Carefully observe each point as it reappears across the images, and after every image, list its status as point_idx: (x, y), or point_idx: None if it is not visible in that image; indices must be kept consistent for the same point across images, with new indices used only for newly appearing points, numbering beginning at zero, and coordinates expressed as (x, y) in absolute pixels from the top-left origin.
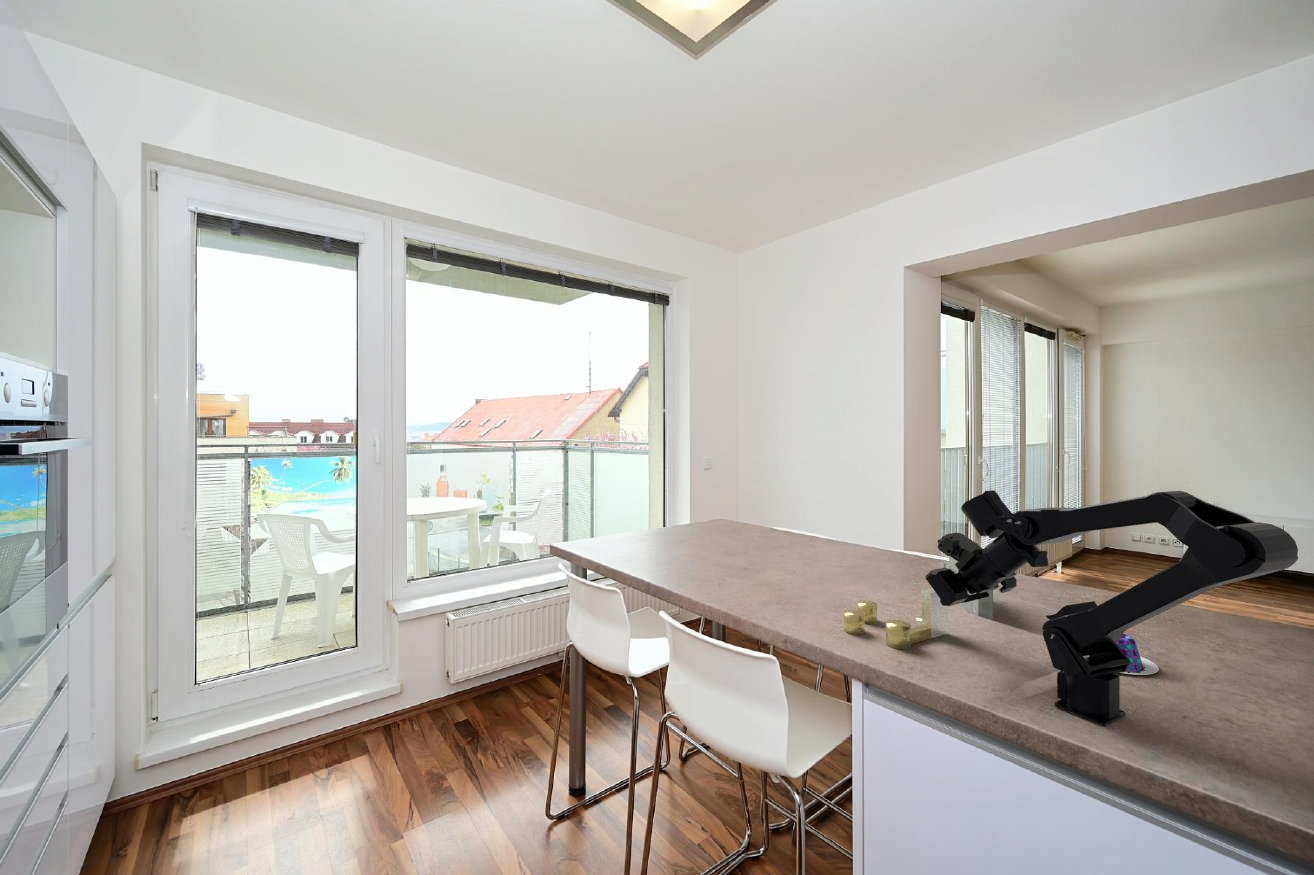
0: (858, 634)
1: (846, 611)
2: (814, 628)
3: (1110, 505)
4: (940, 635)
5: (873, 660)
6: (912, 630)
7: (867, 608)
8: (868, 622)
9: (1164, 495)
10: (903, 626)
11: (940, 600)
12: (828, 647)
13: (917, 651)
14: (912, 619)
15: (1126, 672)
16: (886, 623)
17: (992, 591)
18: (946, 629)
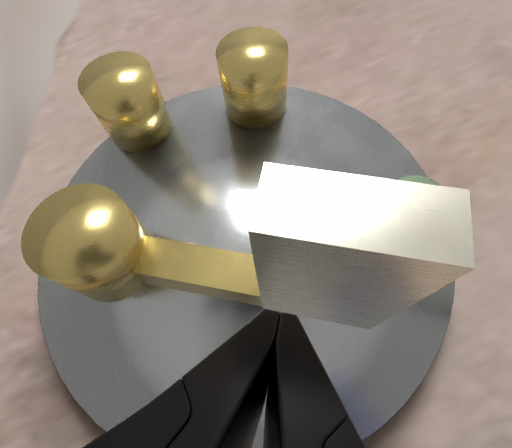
0: (118, 144)
1: (113, 57)
2: (146, 55)
3: None
4: (321, 319)
5: (20, 251)
6: (176, 260)
7: (221, 72)
8: (229, 113)
9: None
10: (51, 259)
11: (259, 315)
12: (42, 135)
13: None
14: (449, 156)
15: None
16: (48, 197)
17: None
18: (365, 323)
